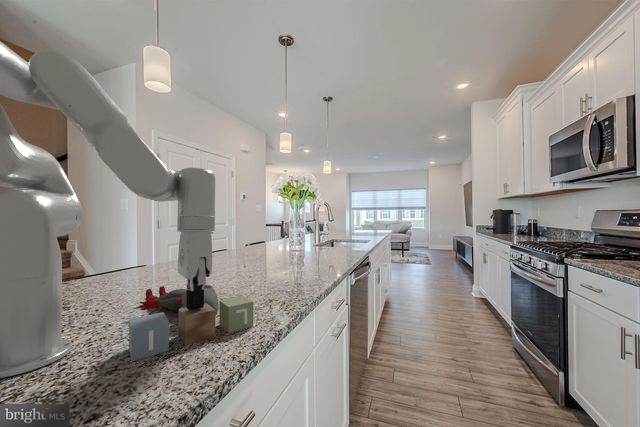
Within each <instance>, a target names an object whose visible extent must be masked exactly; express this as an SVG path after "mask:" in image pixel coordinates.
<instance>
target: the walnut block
mask: <svg viewBox="0 0 640 427" xmlns="http://www.w3.org/2000/svg"><path fill="white" fill-rule="evenodd" d="M178 337H179V338H180V340H181V341H182V343H183V344H184V346H189V345H192V344H196V343H199V342H203V341H206V340H209V339H213V338H216V316H215V309H213V308H212V307H211V306H210V305H208V304H207V303H206V304H204V307H203V308H198V309H193V310H188V308H187V307H186V308H183V307H182V308H179V309H178Z"/></svg>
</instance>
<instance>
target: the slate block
mask: <svg viewBox="0 0 640 427" xmlns="http://www.w3.org/2000/svg"><path fill="white" fill-rule="evenodd" d="M128 351H129V354H130V355H129V356H130V360H131V361H137V360H140V359H144V358H147V357H151V356H154V355H157V354H162V353H165V352H168V351H170V320H169V318H168V317H167V316H166V313H165V312H164V311H163V312H157V313H152V314H148V315H141V316H137V317H133V318H129V319H128Z"/></svg>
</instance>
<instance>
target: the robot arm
mask: <svg viewBox="0 0 640 427" xmlns="http://www.w3.org/2000/svg"><path fill="white" fill-rule="evenodd" d="M0 95H1V96H3V97H5V98H8V99H11V100H14V101H18V102H21V103H26V104H30V105H34V106H35V105H36V106H39V107H43V108H44V107H45V108H50V109H54V110H59V111H60V112H61V113H62V114H63V115H64V116H65V117H66V118H67V120H68V121H70V122H71V123H72V125H73V126H74V127H75V128H76V130H78V131H79V132H80V133H81V134H82V136H83V137H84V138H85V139H86V141H87V142H88V144H89V145H90V146H91V147H92V149H93V150H94V152H95V153H96V154H97V155H98V157H99V158H100V159H101V160H102V162H103V163H104V164H105V165H106V166H107V167H108V168H109V169H110V170H111V171H112V172H113V174H114V175H115V176H116V177H117V179H119V180H120V181H121V182H122V183H123V185H124V186H126V187H127V188H128V189H129V190H130V191H131V192H132V193H134V195H137V196H138V197H140V198H142V199H147V200H150V201H153V202H154V201H155V202H174V201H177V222H176V223H177V225H176V226H177V228H176V229H177V230H176V231H177V232H180V233H179V234H180V235H179V243H178V259H177V273H178V274H179V275H180V276H182V277H183V278H185V279H186V289H187V298H186V307H187V308H188V310H193V309H198V308H203V307H204V286H205V285H207V280H206V279H207V278H210V276H212V274H213V240H212V232H215V231H216V227H215V226H216V217H215V215H216V174H215V173H214V172H213V171H212V170H209V169H208V168H200V167H185V168H182V169H180V171H179V170H174V169H171V168H169V167H168V166H166V164H164V162H162V160H161V159H159V157H158V156H157V154H155V152H153V151H152V149H151V148H150V147H149V145H147V143H145V142H144V141H143V139H142V138H141V137H140V135H139V134H138V133H137V132H136V131H135V129H134V127H133V126H132V124H131V119H129V117H128V116H127V114H126V113H125V112H124V111H123V110H122V109H121V107H119V105H117V103H116V102H115V101H114V100H113V99H112V97H110V96H109V94H108V93H107V92H106V91H105V90H104V88H103V87H102V86H101V84H100V83H99V81H97V80H96V79H95V77H93V75H92V74H91V73H90V72H89V71H88V70H87V69H86V68H85V67H84V66H83V65H82V64H81V63H80V62H79V61H78V60H76V59H75V58H73V57H72V56H71V55H68V54H67V53H64V52H61V51H58V50H54V49H44V50H40V51H36V52H34V54H32V55H31V57H30V59H29V61H26V60H25V59H24V58H23V57H21V56H20V55H19V54H17V53H16V52H15V51H14V50H12V49H11V48H10V47H8V45H6V44H5V43H4V42H2V41H1V40H0ZM61 165H62V164H60V162H59V161H58V160H57V159H56V158H55V156H53V155H52V154H51V153H50V152H48V151H47V150H45V149H44V148H41V147H39V146H37V145H34V144H31V143H29V142H28V141H26V140H24V139H23V138H22V137H21V136H20V135H19V132H17V130H16V129H15V126H14V125H13V124H12V122H11V120H10V117H9V115H8V113H7V111H6V109H5V108H4V107H3V105H2V104H1V103H0V187H2V188H3V187H4V188H8V189H2V190H0V379H3V378H8V377H9V378H10V377H13V376H17V375H22V374H24V373H27V372H31V371H34V370H36V369H39V368H42V367H45V366H47V365H50V364H52V363H55V362H56V361H59V360H60V359H62V358H63V357H65V356H66V355H68V354H69V353H70V352H71V350H72V349H73V342H72V341H71V340H70V339H68V338H62V335H63V334H62V328H63V326H62V317H63V311H62V310H63V307H62V306H63V302H62V301H63V261H62V260H63V258H62V253H61V252H62V251H61V247H60V243H59V241H58V237H64V236H66V235H70V234H71V233H74V232H75V231H76V230H77V229H78V228H79V227H80V226H81V225H82V223H83V220H84V212H85V211H84V208H83V205H82V203H81V201H80V198H79V197H78V195H77V193H76V191H75V189H74V187H73V186H72V184H71V182H70V180H69V178H68V177H67V174H66V172H65V170H64V169H63V167H62V166H61ZM189 289H190V290H189Z"/></svg>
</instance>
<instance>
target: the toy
mask: <svg viewBox="0 0 640 427" xmlns="http://www.w3.org/2000/svg"><path fill="white" fill-rule="evenodd" d="M189 290H190V289H189ZM158 294H159V296H156V295H154V294H153V291H152V289H151V288H149V289H146V290H145V297H144V300H145V301H139V304H140V305H138V308H140V311H145V310H155V309H156V310H157V309H158V310H159V309H162V308H167V309H168V310H171V311H173V310H179V309H181V308H186V298H187V288H178V289H174V290H171V291H169V292H167V291H166V287H165V286H164V285H163V286H159V289H158ZM206 303H207V304H208V305H210V306H211V307H212V308H213V309H215V317H216V316H217V315H218V312H219V308H220V303H219V299H218V295H217V292H216V290H215V287H213V286H212V285H211V284H210V285H209V284H205V286H204V304H206Z"/></svg>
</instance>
